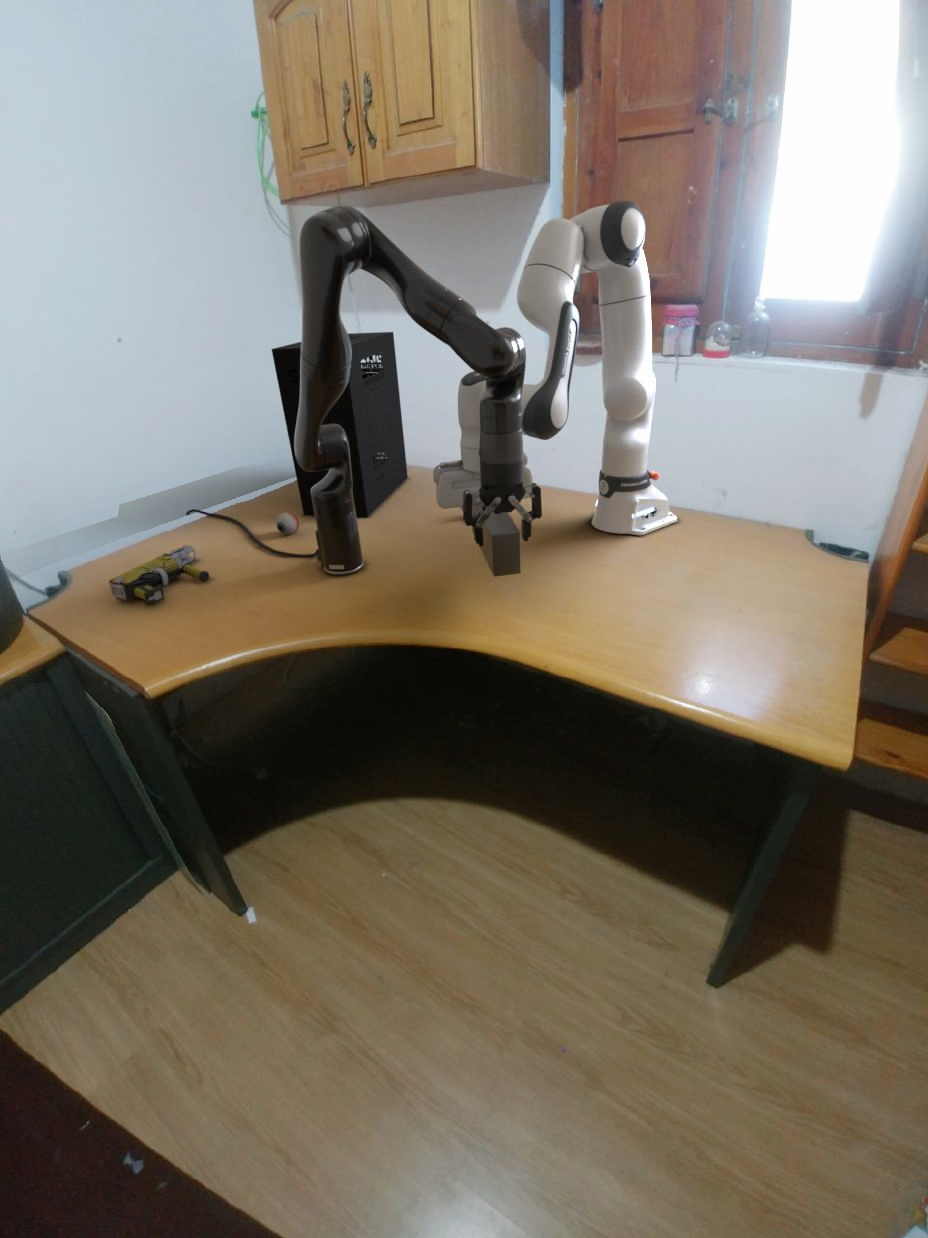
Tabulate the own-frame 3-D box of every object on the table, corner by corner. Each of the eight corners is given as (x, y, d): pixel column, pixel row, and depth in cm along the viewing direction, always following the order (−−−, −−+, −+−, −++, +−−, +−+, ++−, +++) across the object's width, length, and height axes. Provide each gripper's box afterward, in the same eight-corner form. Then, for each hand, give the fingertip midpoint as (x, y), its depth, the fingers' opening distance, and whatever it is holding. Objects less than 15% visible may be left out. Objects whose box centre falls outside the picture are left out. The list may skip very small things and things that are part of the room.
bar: (472, 531, 133) (470, 494, 129) (495, 529, 133) (493, 492, 129) (493, 577, 113) (491, 535, 108) (520, 573, 113) (520, 531, 109)
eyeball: (273, 537, 164) (268, 516, 161) (287, 528, 169) (282, 508, 166) (291, 539, 161) (286, 518, 158) (305, 530, 166) (301, 510, 163)
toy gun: (232, 553, 147) (182, 542, 151) (158, 593, 127) (102, 580, 131) (234, 570, 150) (185, 559, 154) (162, 613, 130) (107, 599, 134)
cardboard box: (367, 516, 174) (344, 346, 151) (303, 514, 178) (271, 348, 156) (407, 477, 205) (393, 331, 183) (352, 476, 210) (331, 334, 187)
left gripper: (464, 465, 100) (469, 554, 109) (547, 457, 102) (545, 545, 110) (457, 454, 107) (462, 539, 115) (535, 446, 109) (534, 530, 117)
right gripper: (434, 467, 118) (440, 533, 125) (535, 455, 120) (536, 521, 127) (430, 459, 123) (436, 523, 130) (527, 448, 126) (527, 511, 133)
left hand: (502, 542), depth 113 cm, fingers open, 8 cm apart
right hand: (486, 522), depth 129 cm, fingers closed on bar, 5 cm apart
